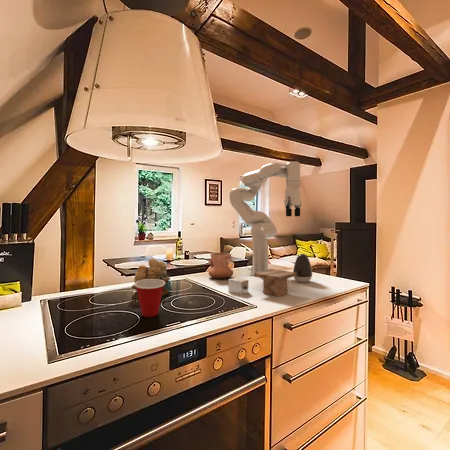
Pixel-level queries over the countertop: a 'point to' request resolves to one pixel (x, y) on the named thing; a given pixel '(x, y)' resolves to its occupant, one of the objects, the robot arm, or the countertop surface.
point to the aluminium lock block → (238, 286)
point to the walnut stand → (275, 281)
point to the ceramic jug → (220, 266)
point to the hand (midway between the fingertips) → (293, 216)
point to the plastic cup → (149, 295)
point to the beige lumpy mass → (152, 275)
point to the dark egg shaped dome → (302, 269)
